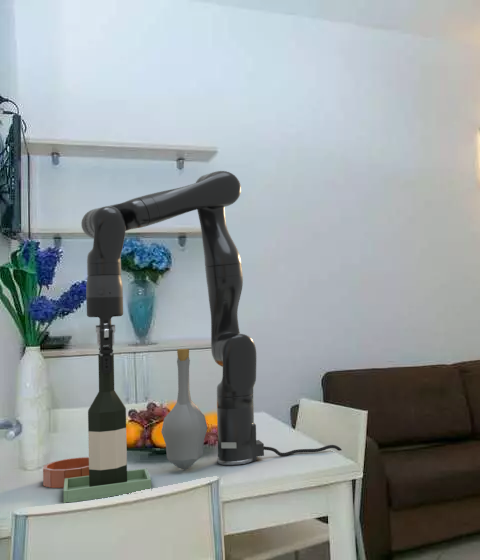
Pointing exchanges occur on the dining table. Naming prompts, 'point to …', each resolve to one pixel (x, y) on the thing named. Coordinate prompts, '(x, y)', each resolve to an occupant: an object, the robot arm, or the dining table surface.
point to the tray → (105, 486)
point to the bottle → (184, 422)
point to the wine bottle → (107, 434)
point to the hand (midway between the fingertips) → (106, 371)
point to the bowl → (64, 471)
